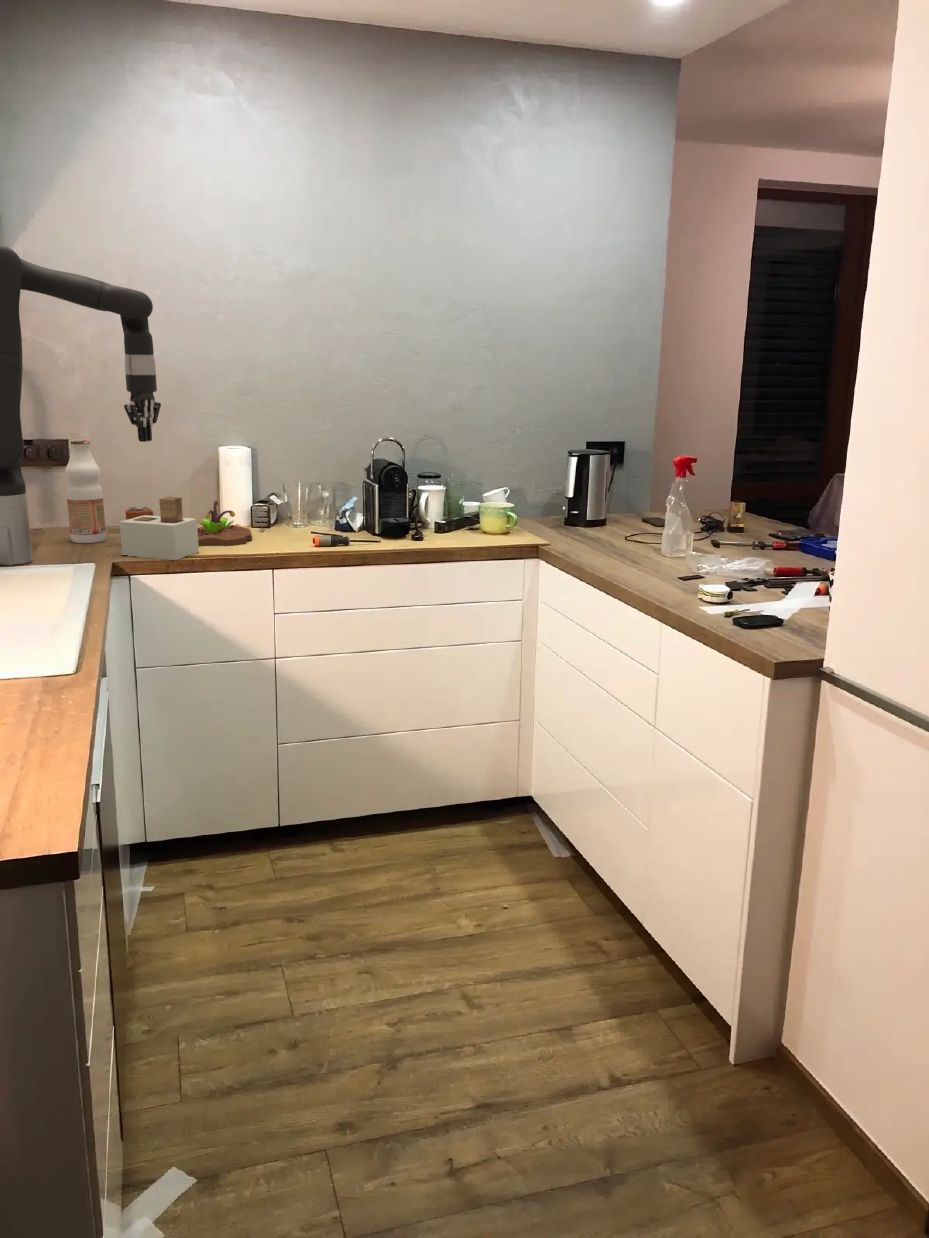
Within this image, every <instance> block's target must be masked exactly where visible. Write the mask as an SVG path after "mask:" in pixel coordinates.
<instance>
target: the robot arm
mask: <svg viewBox="0 0 929 1238" xmlns="http://www.w3.org/2000/svg"><path fill="white" fill-rule="evenodd" d="M22 290H23V291H28V292H34V293H38V294H42V295H46V296H50V297H53V298H56V299H60V300H62V301H65V302H69V303H72V304H76V305H77V306H81V307H86V308H88V309H93V310H96V311H100V312H110V313H112V314H113V313H114V314H117V315H119V316H120V321H121V327H122V331H123V346H124V373H125V386H126V387H125V389H126V391H127V392H129V393H130V397H129V401H130V402H129V403H128V404H124V406H123V409H124V410H125V413H126V414H127V417H128V418H129V422H130V423H131V425H132V426H135V427H136V428H137V439H138V441H139V442H140V443H141V442H143V443H144V442H145V443H146V442H152V441H153V434H152V432H153V431H152V427H153V425H154V424H157V421H158V419H159V414H160V411H161V406H162V404H161V402H157V401H156V399H155V395H154V393H156V392H157V391H158V387H157V383H158V382H157V372H156V370H157V369H156V362H155V356H154V355H155V353H154V342H153V336H152V334H151V332H150V329H149V328H150V327H149V326H150V325H149V317H150V316H151V315H152V313H153V309H154V305H153V301H152V299H151V298H150V297H149V296H148V295H147V293H145V292H142V291H140V290H138V289H133V288H129V287H123V286H118V285H113V284H110V283H107V282H105V281H101V280H98V279H95V278H92V277H88V276H84V275H81V274H77V273H72V272H67V271H61V270H57V269H53V268H52V269H51V268H48V267H44V266H41V265H37V264H34V263H32V262H29V261H27V260H24V259H23V258H21V257H20V256H19V255H18V253H17V252H16V251H15V250H13V249H12V248H10V247H8V246H7V245H6V246H5V245H3V244H2V245H1V244H0V565H3V566H4V565H5V566H14V565H21V564H26V563H29V562H30V563H31V562H32V561H34V558H33V557H34V555H33V546H32V537H31V536H32V535H31V528H30V518H29V511H28V498H27V487H26V482H25V479H24V477H23V471H22V465H21V460H22V458H23V455H24V452H25V451H24V450H25V449H24V448H25V447H24V438H23V429H22V420H21V401H22V389H23V388H22V387H23V385H22V384H23V337H22V328H21V327H22V326H21V319H20V300H21V299H20V298H21V291H22Z"/></svg>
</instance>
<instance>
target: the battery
mask: <svg viewBox="0 0 929 1238" xmlns="http://www.w3.org/2000/svg"><path fill="white" fill-rule="evenodd" d="M143 515H148V516H154V511H153V510H152V509H151V508H149V506H142V508H137V506H129V507H128V509H125V520H128V519H132V518H136V517H140V516H143Z"/></svg>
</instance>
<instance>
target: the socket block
mask: <svg viewBox="0 0 929 1238" xmlns="http://www.w3.org/2000/svg"><path fill="white" fill-rule="evenodd" d="M141 517H151V518H156V519H155V520H152V521H135V520H134V519H137V518H141ZM197 528H198V519H197V518H189V517H183V521H182V522H178V523H163V522H161V516H160V515H159V516H158V515H153V516H148V515H143V516H140V517H136V518H132V519H128V520H126V519H125V520H121V521H119V532H120V533H119V534H120V543H121V544H120V545H121V556H122V555H128V556H127V557H131V556H137V557H136V558H144V559H145V558H146V559H157V560H167V561H169V560H170V561H178V560H180V559H184V558H186V557H185V556H187V555H189V556H192V555H195V554H197V552H198V553H199V552H200V550H199V549H200V547H199V546H198V530H197ZM194 553H195V554H194ZM191 554H192V555H191ZM187 557H188V556H187Z"/></svg>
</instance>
